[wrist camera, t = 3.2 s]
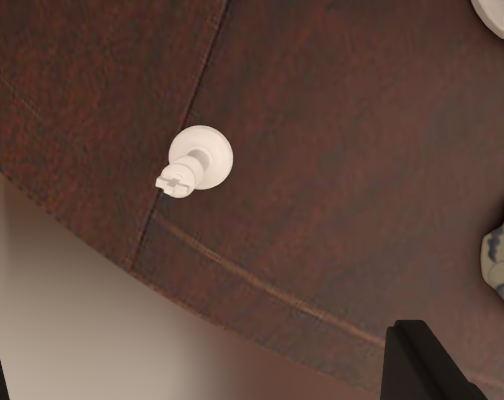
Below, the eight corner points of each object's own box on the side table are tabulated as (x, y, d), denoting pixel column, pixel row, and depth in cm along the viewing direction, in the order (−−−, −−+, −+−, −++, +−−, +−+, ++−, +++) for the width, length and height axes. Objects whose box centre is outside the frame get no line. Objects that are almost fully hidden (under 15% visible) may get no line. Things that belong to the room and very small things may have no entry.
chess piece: (178, 116, 28) (132, 129, 18) (240, 136, 28) (227, 158, 18) (163, 177, 29) (112, 219, 19) (223, 196, 29) (202, 245, 20)
